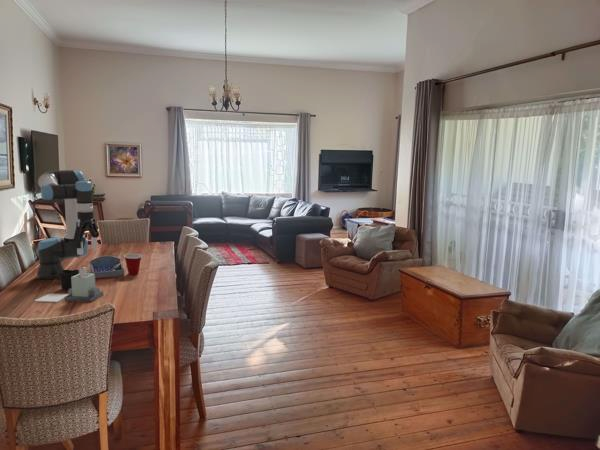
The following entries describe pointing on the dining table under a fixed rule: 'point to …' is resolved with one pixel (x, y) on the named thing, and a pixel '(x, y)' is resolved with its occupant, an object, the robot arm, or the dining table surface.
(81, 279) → the sleeve
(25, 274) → the dining table surface
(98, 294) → the block with threaded rod
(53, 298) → the mat
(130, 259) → the plastic cup
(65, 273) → the pen holder
